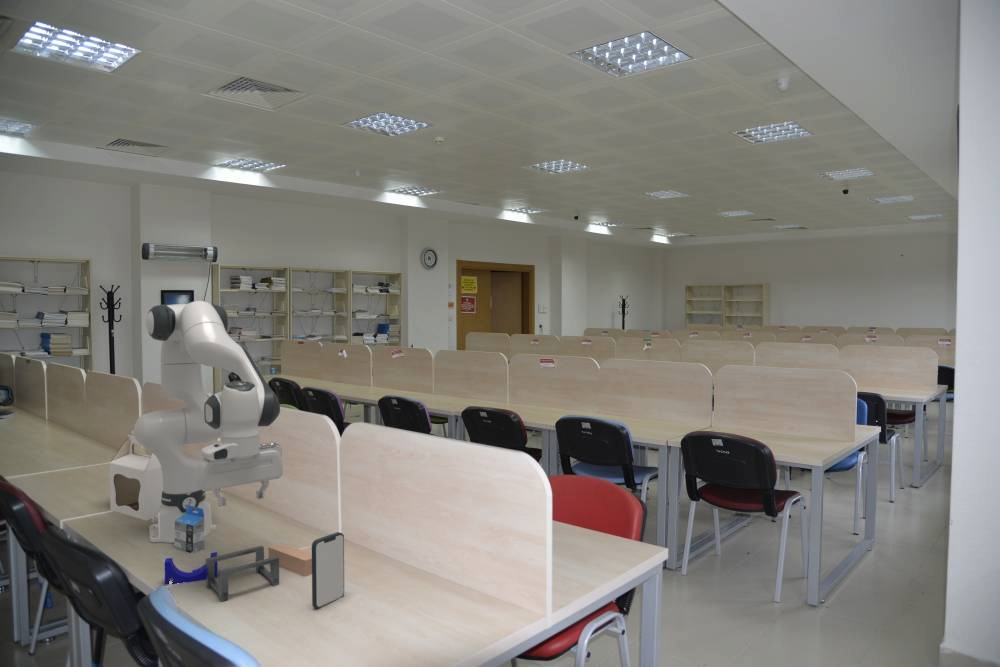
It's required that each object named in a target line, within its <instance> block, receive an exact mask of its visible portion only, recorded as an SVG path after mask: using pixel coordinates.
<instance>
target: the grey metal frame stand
mask: <svg viewBox="0 0 1000 667" xmlns="http://www.w3.org/2000/svg"><path fill="white" fill-rule="evenodd" d="M254 553H255V561H254V562H249V563H243V564H241V565H237V566H233V567H229V568H224V569H221V570H218V582H217V581H216V578H215V562H217V563H218V562H222V561H225V560H229V559H234V558H237V557H241V556H245V555H249V554H250V555H251V554H254ZM205 564H206V581H205V583H206V584H205V585H206V586H205V587H206V588H208V589H210V588H213V589H214V590H215V591H216V593H218V596H219V597H218V598H219V599H218V600H219V602H221V603H222V602H226V601H229V575H231V574H234V573H238V572H239V573H240V572H243V571H246V570H250V569H255V572H256V573H257V574H262V575H264V576H265V577H266V578H267V579H269V580H270V586H272V587H276V586H279V585H280V566H279V558H278V557H277V556H276V557H272V558H269V557H268V558H265V547H264V546H263V545H258V546H257V545H256V546H253V547H249V548H246V549H241V550H238V551H237V550H236V551H233V552H228V553H224V554H219V555H217V556H215V557H211V558H210V557H207V558H205ZM269 564H270V565H269ZM266 565H269V566H270V567H269V568H270V569H267V568H266V567H265V566H266Z"/></svg>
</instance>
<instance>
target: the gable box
mask: <svg viewBox="0 0 1000 667" xmlns="http://www.w3.org/2000/svg"><path fill="white" fill-rule="evenodd" d="M127 436H128V438H127V439H126V440H125V441H124V442H123V444H122V445H121V446H120V448H119V449H118V450H117V452H116V453H115V455H114V456H113V458H112V459H111V461H110V462H109V466H108V467H109V498H110V499H109V501H110V502H109V505H110V506H109V507H110V508H109V510H110V511H114V512H116V513H120V514H123V515H127V516H129V517H133V518H135V519H139V520H143V521H149V520H151V515H157V510H158V509H159V507H160V506H161V504H162V503H161V495H162V491H163V475H162V468H161V465H160V462H159V460H158V459H157V457H156V456H155V455H154V454H153V453H152V452H151V455H148V454H147V453H146V451H145V450H144V447H143V446H142V445H141V444H139V442H138V441H137V440H136V438H135V435H134V429H133V430H131V433H127ZM135 503H138V510H136V509H134V508H133V507H131V506H130V505H132V504H135Z"/></svg>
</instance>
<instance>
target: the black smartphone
mask: <svg viewBox="0 0 1000 667" xmlns="http://www.w3.org/2000/svg"><path fill="white" fill-rule="evenodd" d="M311 554H312V574H311V586H312V587H311V591H312V592H311V602H312V603H311V604H312V607H313V608H315V609H321V608H323V607H326V606H327V605H329V604H332V603H333V602H335V601H337V600H339V599H342V598H343V597H344V596H345V537H344V534H343V533H342V532H340V531H338V532H334V533H331V534H328V535H325V536H322V537H320V538H319V537H318V538H317V539H314V540H313V541H312V543H311Z"/></svg>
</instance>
